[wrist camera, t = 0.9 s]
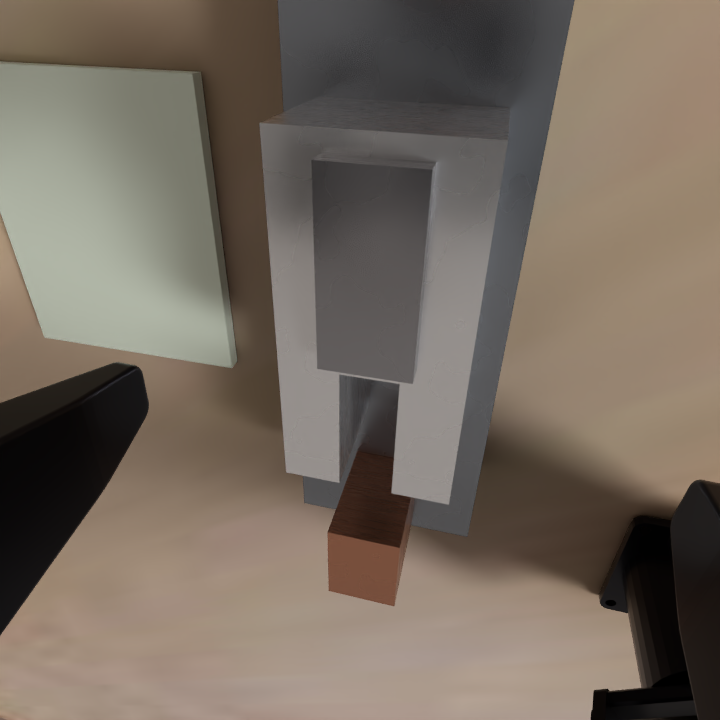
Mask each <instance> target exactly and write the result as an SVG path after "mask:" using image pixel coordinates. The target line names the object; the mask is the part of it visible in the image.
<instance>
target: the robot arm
mask: <svg viewBox="0 0 720 720" xmlns="http://www.w3.org/2000/svg"><path fill="white" fill-rule="evenodd" d="M148 408H149V402H148V397H147V392H146V387H145V383H144V378H143V373H142V371H141V369H140V368H139V367H137V366H135V365H130V364H125V363H119V362H116V363H112V364H109V365H106V366H104V367H101V368H98V369H95V370H92V371H89V372H87V373H84V374H81V375H78V376H75V377H72V378H70V379H67V380H64V381H61V382H58V383H56V384H53V385H50V386H47V387H44V388H41V389H39V390H36V391H33V392H30V393H27V394H24V395H22V396H19V397H16V398H13V399H10V400H8V401H5V402H2V403H0V635H1V634H2V632H3V631H4V630H5V628H6V627H7V625H8V624H9V623H10V621H11V620H12V618H13V617H14V616H15V614H16V613H17V611H18V610H19V609H20V607H21V606H22V604H23V603H24V602H25V600H26V599H27V597H28V596H29V595H30V593H31V592H32V590H33V589H34V588H35V586H36V585H37V583H38V582H39V581H40V579H41V578H42V576H43V575H44V574H45V572H46V571H47V569H48V568H49V567H50V565H51V564H52V562H53V561H54V560H55V558H56V557H57V555H58V554H59V553H60V551H61V550H62V548H63V547H64V546H65V544H66V543H67V541H68V540H69V539H70V537H71V536H72V534H73V533H74V532H75V530H76V529H77V527H78V526H79V524H80V523H81V522H82V520H83V519H84V517H85V516H86V515H87V513H88V512H89V510H90V509H91V508H92V506H93V505H94V503H95V502H96V501H97V499H98V498H99V496H100V495H101V493H102V492H103V490H104V489H105V487H106V486H107V484H108V483H109V481H110V479H111V478H112V476H113V474H114V472H115V471H116V469H117V467H118V465H119V464H120V462H121V460H122V458H123V457H124V455H125V453H126V451H127V450H128V448H129V446H130V444H131V443H132V441H133V439H134V437H135V435H136V434H137V432H138V430H139V428H140V427H141V425H142V423H143V421H144V420H145V418H146V416H147V413H148ZM642 527H646V528H642ZM599 599H600V604H601V606H603V607H604V608H607V609H611V610H616V611H620V612H625V613H628V615H629V621H630V626H631V632H632V637H633V643H634V648H635V654H636V659H637V665H638V671H639V676H640V682H641V687H642V688H637V689H627V690H616V691H609V690H608V689H600V690H594V694H593V710H592V711H591V720H720V483H715V482H710V481H705V480H696V481H694V482H693V483H692V484H691V485H690V486H689V488H688V490H687V492H686V494H685V495H684V497H683V499H682V501H681V502H680V504H679V506H678V508H677V510H676V511H675V513H674V515H673V517H672V521H668V520H663V519H658V518H653V517H647V516H640V517H636V518H634V519H633V520H632V522H631V524H630V526H629V528H628V530H627V533H626V535H625V537H624V539H623V542H622V544H621V546H620V548H619V551H618V553H617V555H616V557H615V560H614V562H613V564H612V566H611V569H610V571H609V573H608V575H607V578H606V580H605V582H604V584H603V587H602V589H601V591H600V593H599Z"/></svg>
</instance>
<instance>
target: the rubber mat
mask: <svg viewBox="0 0 720 720" xmlns="http://www.w3.org/2000/svg"><path fill="white" fill-rule="evenodd" d="M0 213H1V216H2V219H3V221H4V224H5V227H6V230H7V233H8V236H9V238H10V241H11V244H12V247H13V250H14V253H15V255H16V258H17V261H18V264H19V267H20V270H21V272H22V275H23V278H24V281H25V284H26V287H27V289H28V292H29V295H30V298H31V301H32V304H33V306H34V309H35V312H36V315H37V318H38V321H39V323H40V326H41V329H42V332H43V335H44V338H51V339H57V340H63V341H69V342H75V343H81V344H87V345H93V346H100V347H106V348H112V349H118V350H124V351H130V352H136V353H142V354H148V355H155V356H161V357H167V358H173V359H179V360H185V361H191V362H197V363H203V364H210V365H216V366H222V367H228V368H232V367H233V366H234V365H235V364H236V362H237V354H236V346H235V338H234V330H233V322H232V314H231V306H230V298H229V291H228V283H227V275H226V267H225V259H224V251H223V243H222V235H221V227H220V219H219V211H218V203H217V195H216V188H215V180H214V172H213V164H212V156H211V148H210V140H209V132H208V124H207V116H206V108H205V100H204V92H203V84H202V77H201V72H193V71H174V70H155V69H135V68H116V67H97V66H78V65H59V64H40V63H21V62H2V61H0Z"/></svg>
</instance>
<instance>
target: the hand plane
mask: <svg viewBox="0 0 720 720" xmlns="http://www.w3.org/2000/svg"><path fill="white" fill-rule="evenodd" d="M573 5H574V0H278V16H279V34H280V53H281V72H282V91H283V110H284V112H285V111H287V110H289V109H292V108H294V107H296V106H298V105H300V104H303V103H305V102H307V101H309V100H312V99H314V98H316V97H334V98H351V99H368V100H385V101H401V102H418V103H435V104H452V105H469V106H486V107H503V108H511V110H510V122H509V135H508V144H507V150H506V156H505V162H504V168H503V174H502V181H501V187H500V193H499V199H498V205H497V211H496V218H495V224H494V230H493V236H492V242H491V248H490V254H489V261H488V267H487V273H486V279H485V285H484V291H483V298H482V304H481V310H480V316H479V322H478V328H477V334H476V341H475V347H474V353H473V359H472V365H471V371H470V378H469V384H468V390H467V396H466V402H465V408H464V415H463V421H462V427H461V433H460V439H459V445H458V451H457V458H456V464H455V470H454V476H453V482H452V488H451V495H450V501H449V505H448V504H443V503H438V502H433V501H428V500H423V499H418V498H413V497H408V496H403V495H398V494H393V493H391V492H392V479H393V465H394V452H395V439H396V426H397V412H398V399H399V386H400V384H396V383H390V382H383V381H377V380H371V379H370V397H369V406H368V408H367V411H366V414H365V416H364V419H363V422H362V424H361V427H360V430H359V432H358V435H357V438H356V440H355V443H354V445H353V448H352V451H351V453H350V456H349V459H348V461H347V464H346V467H345V469H344V472H343V475H342V477H341V480H340V483H337V482H332V481H327V480H322V479H317V478H312V477H307V476H303V486H304V503H308V504H312V505H317V506H322V507H327V508H332V509H336V511H335V514H334V516H333V519H332V522H331V525H330V527H329V530H328V574H329V591H332V592H336V593H341V594H345V595H349V596H353V597H357V598H362V599H366V600H370V601H374V602H378V603H382V604H387V605H391V606H394V605H395V600H396V595H397V590H398V586H399V581H400V576H401V571H402V566H403V562H404V557H405V552H406V547H407V542H408V537H409V533H410V528H411V525H413V526H418V527H423V528H427V529H432V530H437V531H442V532H447V533H451V534H456V535H461V536H466V537H467V536H468V531H469V526H470V521H471V516H472V511H473V506H474V501H475V496H476V491H477V486H478V481H479V476H480V471H481V466H482V461H483V456H484V451H485V446H486V441H487V436H488V431H489V426H490V421H491V416H492V411H493V406H494V401H495V396H496V391H497V386H498V381H499V376H500V371H501V366H502V361H503V356H504V351H505V346H506V341H507V336H508V331H509V326H510V321H511V316H512V311H513V305H514V300H515V295H516V290H517V285H518V280H519V275H520V270H521V265H522V260H523V255H524V250H525V245H526V240H527V235H528V230H529V225H530V220H531V215H532V210H533V205H534V200H535V195H536V190H537V185H538V180H539V175H540V170H541V165H542V160H543V155H544V150H545V145H546V140H547V135H548V130H549V125H550V120H551V115H552V110H553V105H554V100H555V95H556V90H557V85H558V80H559V75H560V70H561V65H562V60H563V55H564V50H565V45H566V40H567V35H568V30H569V25H570V20H571V15H572V10H573Z"/></svg>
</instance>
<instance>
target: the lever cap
mask: <svg viewBox="0 0 720 720" xmlns="http://www.w3.org/2000/svg"><path fill="white" fill-rule="evenodd" d="M510 110H511V108H503V107H486V106H469V105H452V104H435V103H418V102H401V101H385V100H368V99H351V98H334V97H316V98H314V99H312V100H309V101H307V102H305V103H303V104H300V105H298V106H296V107H294V108H292V109H289V110H287V111H285V112H283V113H280V114H278V115H276V116H274V117H271V118H269V119H267V120H265V121H262V122H260V123H259V124H260V137H261V150H262V163H263V176H264V189H265V202H266V215H267V228H268V241H269V254H270V267H271V281H272V294H273V307H274V320H275V333H276V346H277V359H278V372H279V385H280V398H281V411H282V424H283V437H284V450H285V463H286V472H287V473H292V474H297V475H302V476H307V477H312V478H317V479H322V480H327V481H332V482H337V483H340V480H341V477H342V475H343V472H344V469H345V467H346V464H347V461H348V459H349V456H350V453H351V451H352V448H353V445H354V443H355V440H356V438H357V435H358V432H359V430H360V427H361V424H362V422H363V419H364V416H365V414H366V411H367V408H368V406H369V397H370V379H371V380H377V381H383V382H390V383H396V384H400V386H399V399H398V412H397V426H396V439H395V452H394V465H393V479H392V492H391V493H393V494H398V495H403V496H408V497H413V498H418V499H423V500H428V501H433V502H438V503H443V504H448V505H449V501H450V495H451V488H452V482H453V476H454V470H455V464H456V458H457V451H458V445H459V439H460V433H461V427H462V421H463V415H464V408H465V402H466V396H467V390H468V384H469V378H470V371H471V365H472V359H473V353H474V347H475V341H476V334H477V328H478V322H479V316H480V310H481V304H482V298H483V291H484V285H485V279H486V273H487V267H488V261H489V254H490V248H491V242H492V236H493V230H494V224H495V218H496V211H497V205H498V199H499V193H500V187H501V181H502V174H503V168H504V162H505V156H506V150H507V144H508V135H509V122H510Z"/></svg>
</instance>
